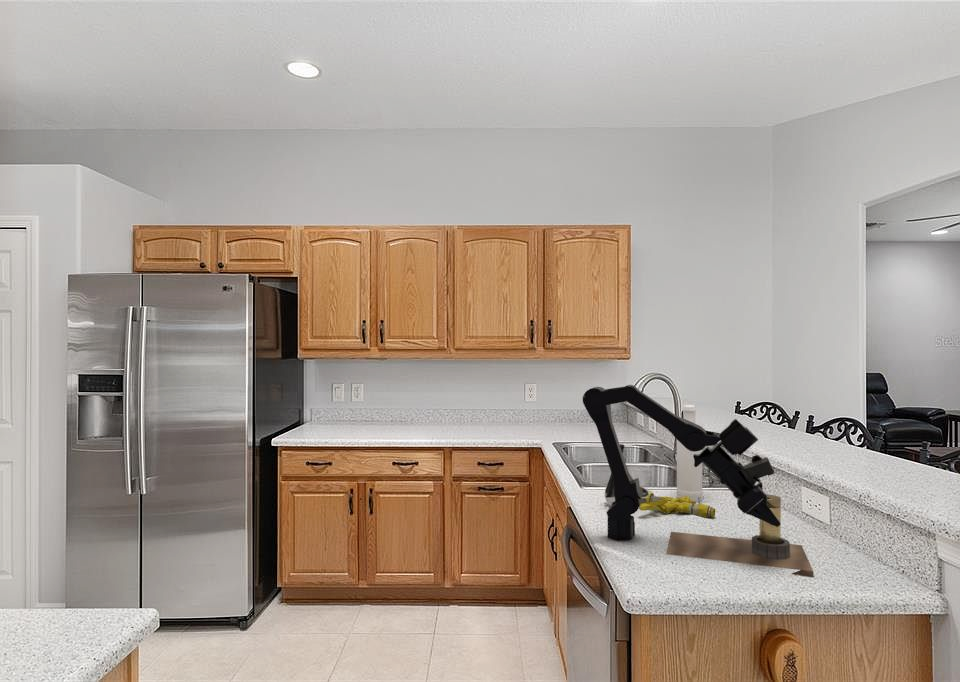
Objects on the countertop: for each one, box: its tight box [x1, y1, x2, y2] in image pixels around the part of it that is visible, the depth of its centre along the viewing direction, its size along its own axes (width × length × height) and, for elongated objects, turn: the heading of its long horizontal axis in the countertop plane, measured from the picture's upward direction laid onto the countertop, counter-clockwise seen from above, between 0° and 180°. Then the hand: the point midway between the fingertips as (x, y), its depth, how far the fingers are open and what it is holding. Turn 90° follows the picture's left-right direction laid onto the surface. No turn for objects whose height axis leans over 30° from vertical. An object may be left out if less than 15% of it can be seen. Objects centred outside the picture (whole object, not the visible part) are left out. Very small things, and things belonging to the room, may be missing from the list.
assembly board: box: [665, 531, 814, 578], centre depth 143 cm, size 30×18×4 cm, turn 69°
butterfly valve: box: [604, 443, 654, 507], centre depth 187 cm, size 9×20×17 cm
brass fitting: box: [758, 494, 782, 545], centre depth 140 cm, size 4×4×13 cm
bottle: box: [676, 404, 704, 503], centre depth 195 cm, size 8×8×30 cm
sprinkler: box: [638, 492, 716, 519], centre depth 178 cm, size 22×6×20 cm
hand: (777, 519), depth 140 cm, fingers open, 9 cm apart
